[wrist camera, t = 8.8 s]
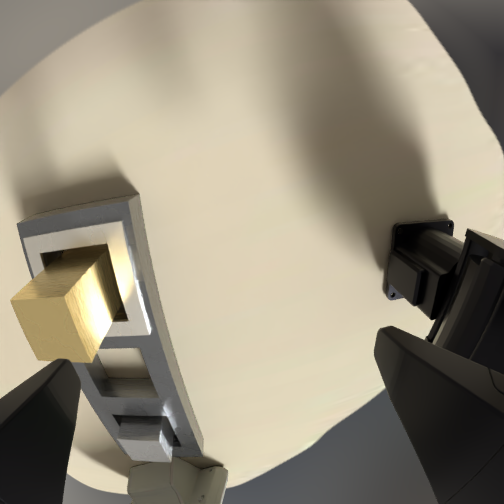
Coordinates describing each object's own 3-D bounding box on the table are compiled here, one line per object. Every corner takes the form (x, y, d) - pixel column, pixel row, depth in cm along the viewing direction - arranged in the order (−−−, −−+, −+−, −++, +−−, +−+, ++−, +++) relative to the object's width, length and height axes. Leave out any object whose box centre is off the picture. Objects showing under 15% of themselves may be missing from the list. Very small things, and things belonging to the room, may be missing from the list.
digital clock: (145, 487, 32) (140, 542, 22) (107, 461, 29) (95, 522, 19) (239, 475, 32) (247, 539, 22) (208, 448, 28) (210, 526, 18)
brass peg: (114, 241, 19) (64, 296, 12) (127, 292, 20) (91, 362, 13) (68, 248, 19) (10, 300, 11) (83, 296, 20) (37, 360, 13)
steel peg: (164, 400, 25) (159, 441, 20) (174, 424, 26) (171, 462, 22) (126, 400, 25) (116, 438, 20) (139, 423, 26) (132, 460, 21)
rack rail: (139, 193, 18) (126, 202, 16) (203, 438, 27) (203, 458, 25) (34, 214, 18) (14, 224, 15) (128, 437, 27) (124, 456, 24)
